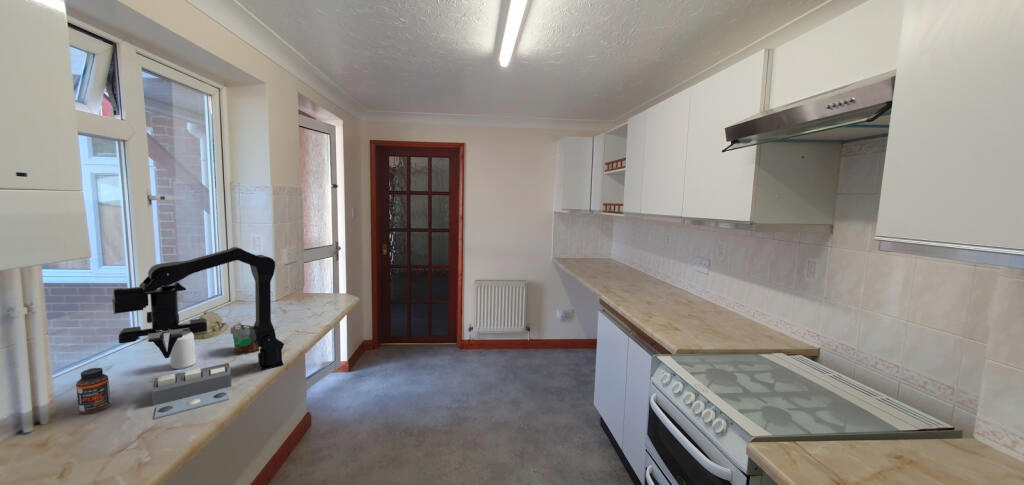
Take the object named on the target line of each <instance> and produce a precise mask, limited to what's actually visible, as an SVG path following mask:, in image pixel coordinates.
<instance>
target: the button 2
mask: <svg viewBox="0 0 1024 485" xmlns="http://www.w3.org/2000/svg"><path fill="white" fill-rule="evenodd" d="M223 372H225V367H221V368H216V369H212V370H211V375H214V374H219V373H223Z"/></svg>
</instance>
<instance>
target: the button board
mask: <svg viewBox="0 0 1024 485" xmlns="http://www.w3.org/2000/svg"><path fill="white" fill-rule="evenodd" d="M221 367H225V372H223V373H219V374H214V375H211V370H212V369H216V368H221ZM231 373H232V372H231V369H230V363H229V362H226V363H222V364H217V365H213V366H207V367H203V368H201V378H196V379H192V380H187V381H185V371H184V372H179V373H178V372H177V373H174V374H175V379H176V380H175V383H174V384H169V385H165V386H160V387H158V378H159V377H156V378H154V380H153V384H152V389H151V392H150V393H151V402H152V404H151V405H152V406H156V405H157V406H158V405H159V404H160V405H162V404H166V403H170V402H172V401H173V402H174V401H178V400H182V399H186V398H190V397H194V396H198V395H203V394H207V393H211V392H215V391H219V390H223V389H227V388H229V387H232V374H231Z"/></svg>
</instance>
